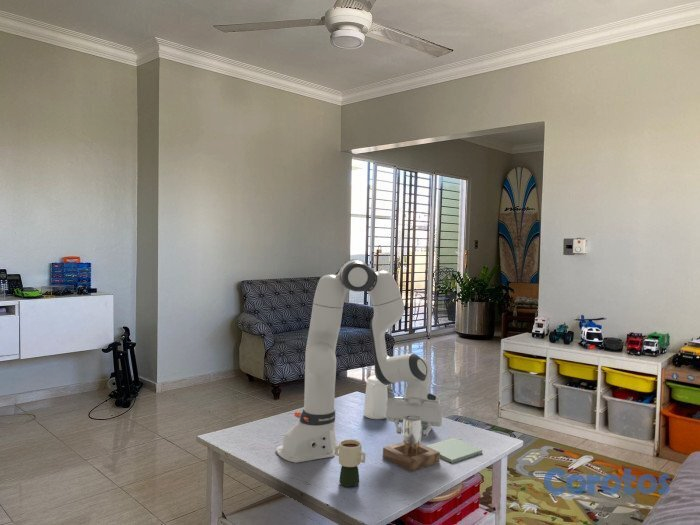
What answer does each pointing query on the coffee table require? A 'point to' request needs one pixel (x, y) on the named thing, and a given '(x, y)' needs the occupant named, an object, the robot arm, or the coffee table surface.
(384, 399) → the coffeepot
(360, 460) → the character mug
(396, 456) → the walnut holder
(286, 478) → the coffee table surface
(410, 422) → the silver metal tumbler
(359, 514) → the coffee table surface
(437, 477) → the coffee table surface
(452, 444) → the sage board
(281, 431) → the coffee table surface
